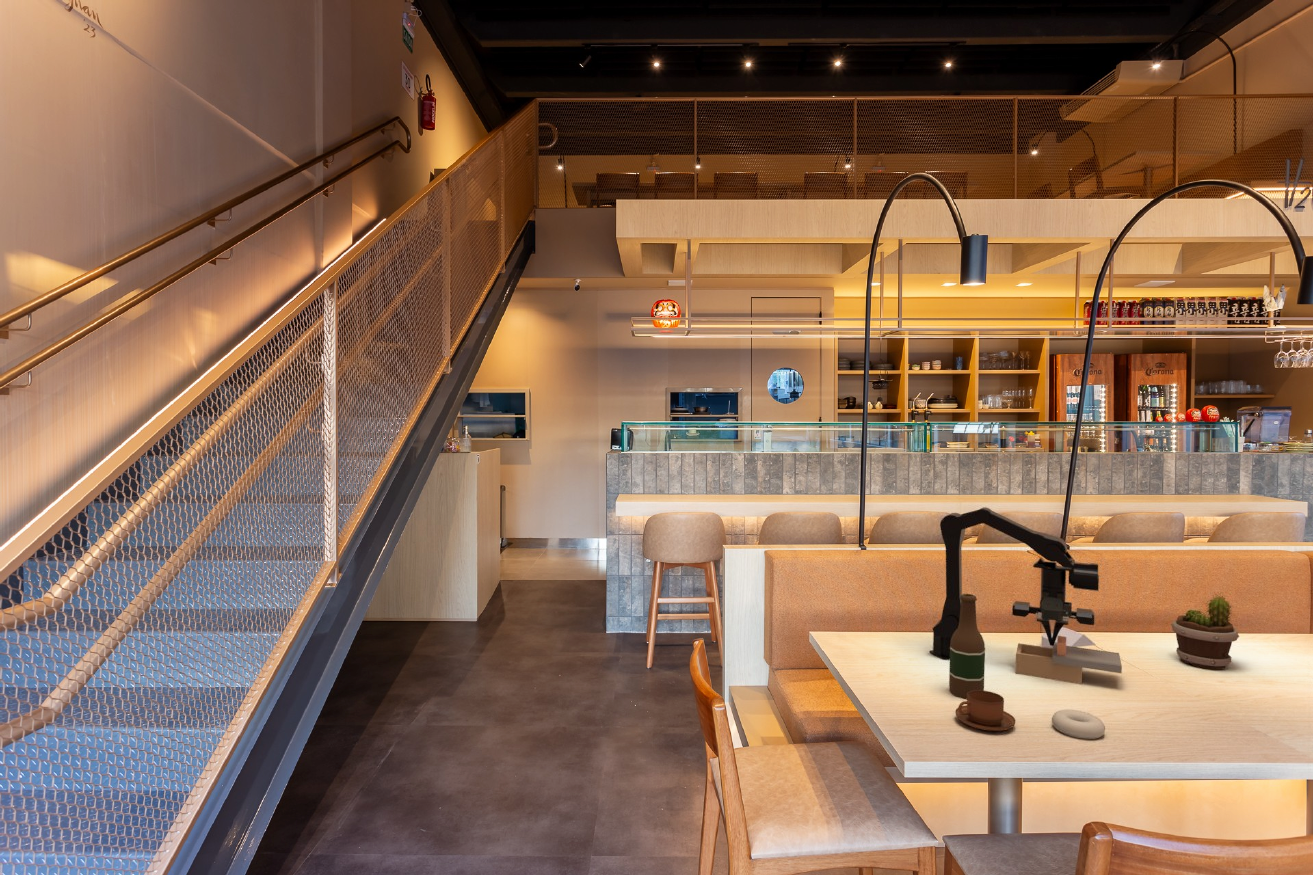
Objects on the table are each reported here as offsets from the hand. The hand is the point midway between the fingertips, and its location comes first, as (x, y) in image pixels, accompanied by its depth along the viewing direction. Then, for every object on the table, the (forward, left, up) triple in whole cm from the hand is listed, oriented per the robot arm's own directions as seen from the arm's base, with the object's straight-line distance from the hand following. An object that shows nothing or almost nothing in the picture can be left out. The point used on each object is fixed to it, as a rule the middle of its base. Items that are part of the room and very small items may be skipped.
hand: (1051, 645), depth 196 cm
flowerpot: (+47, -5, -8) cm, 47 cm away
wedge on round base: (+19, +14, -8) cm, 25 cm away
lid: (+6, -5, -3) cm, 8 cm away
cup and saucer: (-39, -22, -8) cm, 46 cm away
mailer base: (0, 0, -7) cm, 7 cm away
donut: (-22, -31, -8) cm, 39 cm away
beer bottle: (-31, -7, -8) cm, 33 cm away
